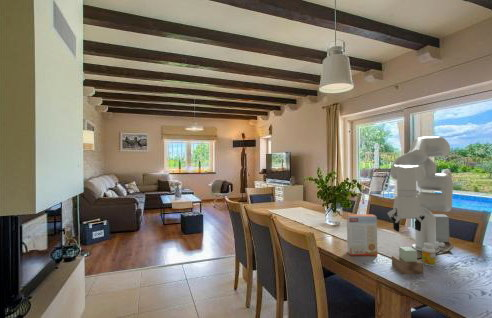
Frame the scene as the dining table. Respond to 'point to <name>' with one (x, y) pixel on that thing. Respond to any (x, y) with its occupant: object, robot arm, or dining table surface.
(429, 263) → the supplement bottle
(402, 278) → the dining table surface
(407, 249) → the sage cube
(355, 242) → the cracker box
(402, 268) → the walnut block
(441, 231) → the skincare box
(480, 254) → the dining table surface
